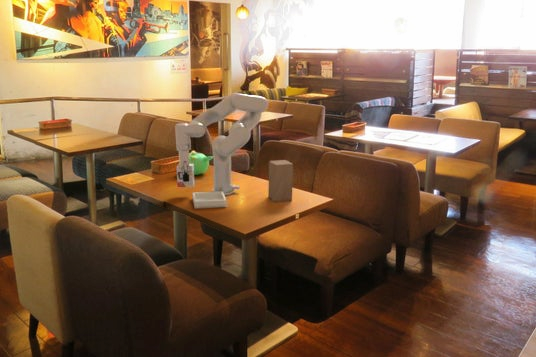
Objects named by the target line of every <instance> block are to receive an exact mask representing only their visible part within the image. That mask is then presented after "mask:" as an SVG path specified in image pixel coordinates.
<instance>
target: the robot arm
mask: <svg viewBox="0 0 536 357" xmlns="http://www.w3.org/2000/svg"><path fill="white" fill-rule="evenodd" d="M268 108H269V101H268V100H267V98H266V97H263V96H260V95H258V94H253V95H249V94H243V93H240V92H233V93H231V94H229V95H228V96H226V97H225V98H223V99H222V100H221V101H219V102H218V103H216V104H215V105H214V106H213V107H211V108H209V109H207V110H205V111H204V112H202V113H199V115H197V116H196V117H194V118H193V119H192V120H190V122H188V123H186V122H183V123H182V122H181V123H176V124H175V126H174V130H175V133H174V134H175V146H176V151H177V152H178V162H179V163H178V164H179V165H180V169H183V168H184V169H183V182H189V174H188V169H189V153H190V151H192V148H191V147H192V143H191V142H192V141H191V138H201V137H203V136H204V135H205V134H206V131H207V130H206V128H207V127H209V126H210V125H212V124H213V123H217V122H221V121H224V120H225V119H226V118H228V117H229V116H230V115H232V114H233V113H234V112H236V111H237V110H238V111H243V112H246V113H244V114H243V116H242V117H240V118H239V119H238V120H237V121H236V122H234V123H233V124H232V125H231V126H230V127H229V129H228V135H227V136H226V135H217V136H216V137H214V139H213V140H212V154H213V155H212V156H213V188H212V189H210V192H222V191H223V193H224V195H225V196H229V195H232V194H234V193H235V190H240V185H237V184H232V155H234V154H235V153H237V152H238V151H239V150H240V149H241V148H242V147H244V146H245V145H246V144H247V143H248V142H249V141H250V138H251V136H252V135H251V134H252V133H251V131H252V130H253V129H254V128H255V127H256V126H257V125H258V124H259V122H261V121H260V120H261V118H262V113H265V112H266V111H267V110H268Z"/></svg>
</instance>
